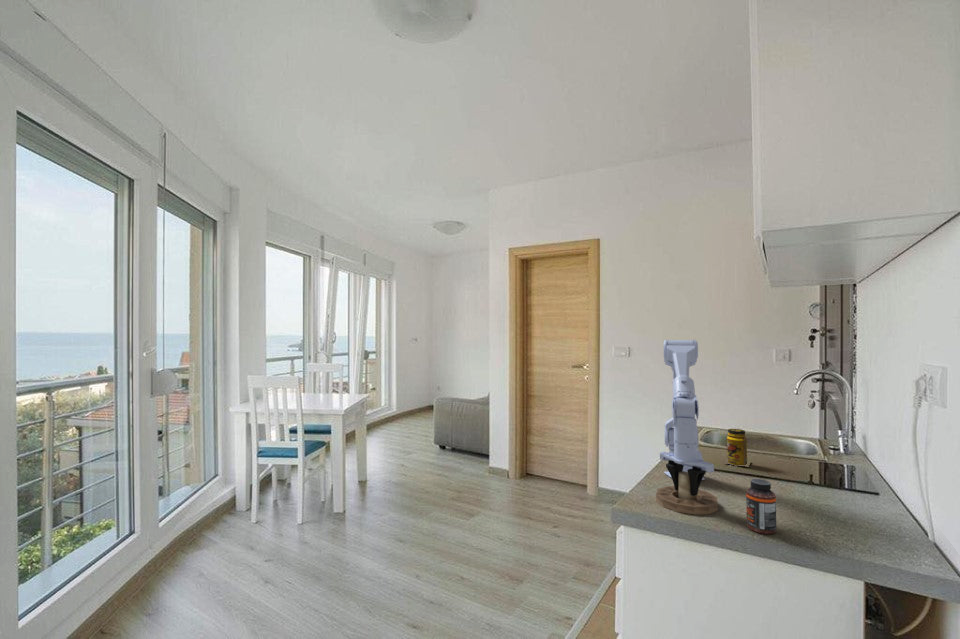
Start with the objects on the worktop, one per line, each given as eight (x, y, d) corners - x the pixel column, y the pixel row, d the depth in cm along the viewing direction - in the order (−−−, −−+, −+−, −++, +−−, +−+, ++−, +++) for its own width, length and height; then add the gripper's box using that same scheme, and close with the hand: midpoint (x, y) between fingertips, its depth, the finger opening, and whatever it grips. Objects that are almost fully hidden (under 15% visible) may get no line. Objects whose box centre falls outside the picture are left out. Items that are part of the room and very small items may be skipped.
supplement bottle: (741, 524, 109) (740, 476, 109) (766, 524, 109) (765, 477, 109) (755, 535, 103) (754, 485, 103) (782, 535, 103) (781, 485, 103)
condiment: (724, 464, 157) (723, 430, 157) (728, 459, 163) (728, 426, 164) (748, 468, 152) (747, 433, 152) (752, 462, 159) (751, 428, 159)
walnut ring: (697, 492, 130) (697, 485, 130) (730, 513, 115) (729, 505, 115) (647, 493, 129) (647, 486, 129) (673, 515, 114) (673, 507, 114)
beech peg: (689, 497, 124) (689, 471, 125) (697, 502, 120) (697, 475, 121) (675, 497, 124) (675, 471, 124) (683, 502, 120) (683, 475, 120)
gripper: (653, 438, 126) (653, 487, 126) (703, 450, 114) (704, 503, 114) (667, 435, 130) (668, 482, 130) (717, 445, 118) (718, 498, 118)
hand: (686, 492), depth 122 cm, fingers closed on beech peg, 4 cm apart
